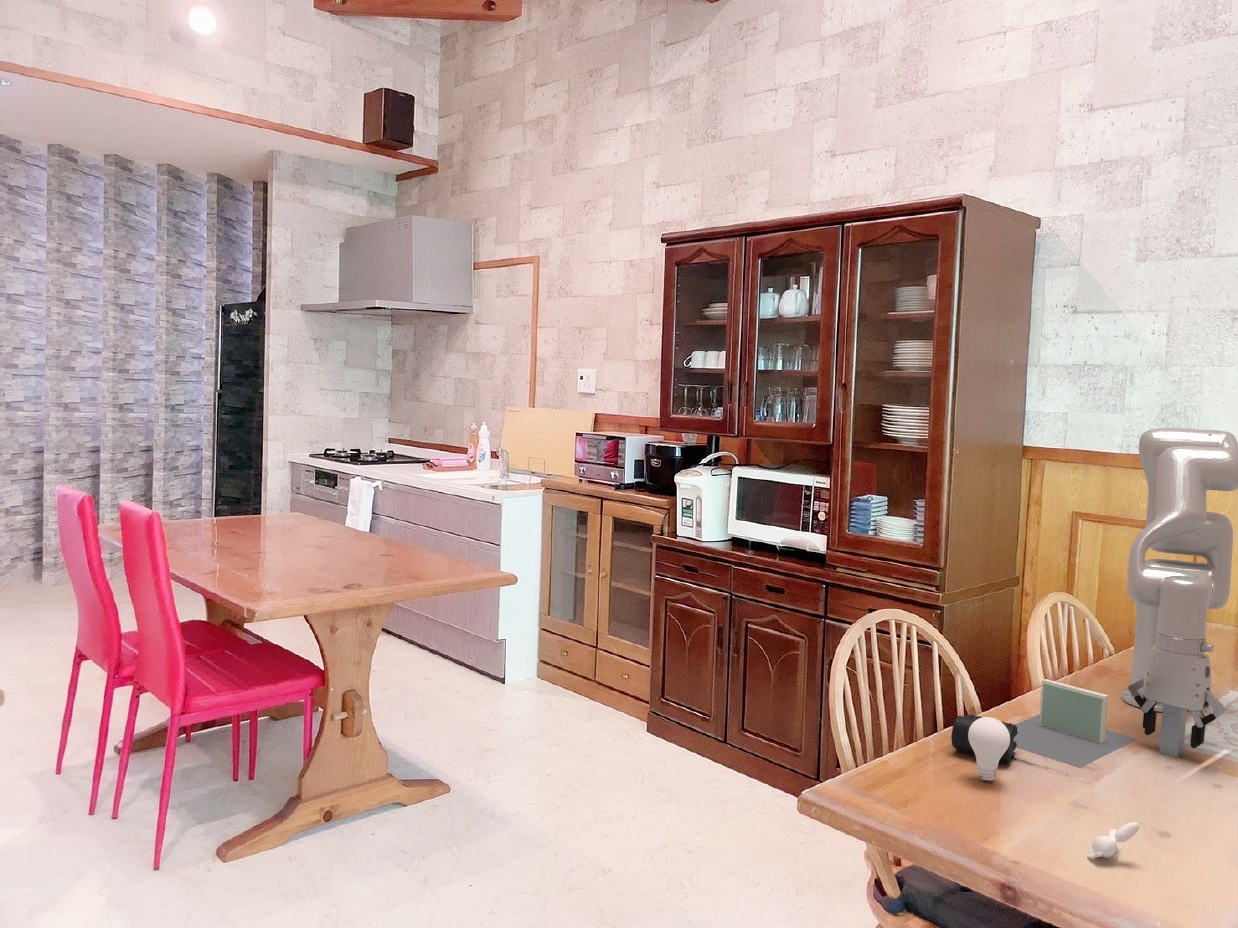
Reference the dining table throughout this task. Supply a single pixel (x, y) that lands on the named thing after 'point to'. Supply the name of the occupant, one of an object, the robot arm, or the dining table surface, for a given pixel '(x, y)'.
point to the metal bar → (1172, 731)
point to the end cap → (962, 741)
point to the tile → (1073, 710)
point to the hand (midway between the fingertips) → (1172, 738)
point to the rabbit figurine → (1113, 840)
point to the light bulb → (988, 745)
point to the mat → (1065, 743)
